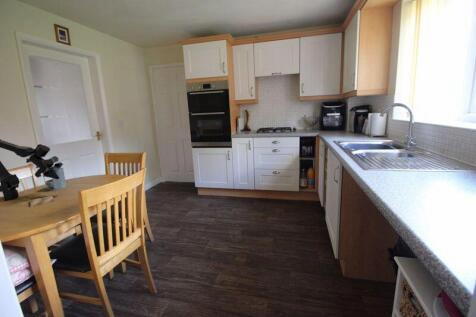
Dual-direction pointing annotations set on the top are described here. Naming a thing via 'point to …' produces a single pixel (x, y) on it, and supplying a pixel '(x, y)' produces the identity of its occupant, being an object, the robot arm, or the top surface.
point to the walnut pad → (41, 201)
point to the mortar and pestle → (51, 185)
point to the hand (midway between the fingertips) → (60, 177)
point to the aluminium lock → (61, 181)
